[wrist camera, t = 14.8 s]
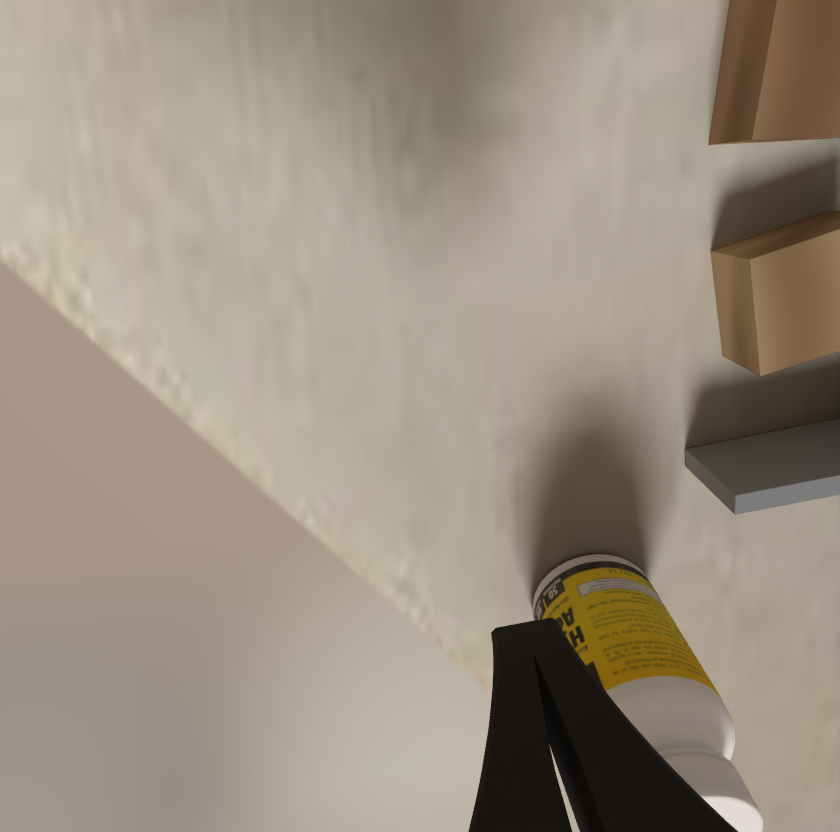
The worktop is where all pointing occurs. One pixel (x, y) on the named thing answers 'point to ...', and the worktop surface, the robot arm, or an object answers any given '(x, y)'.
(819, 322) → the oak tile
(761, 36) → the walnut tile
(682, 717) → the supplement bottle
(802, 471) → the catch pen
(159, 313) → the worktop surface
